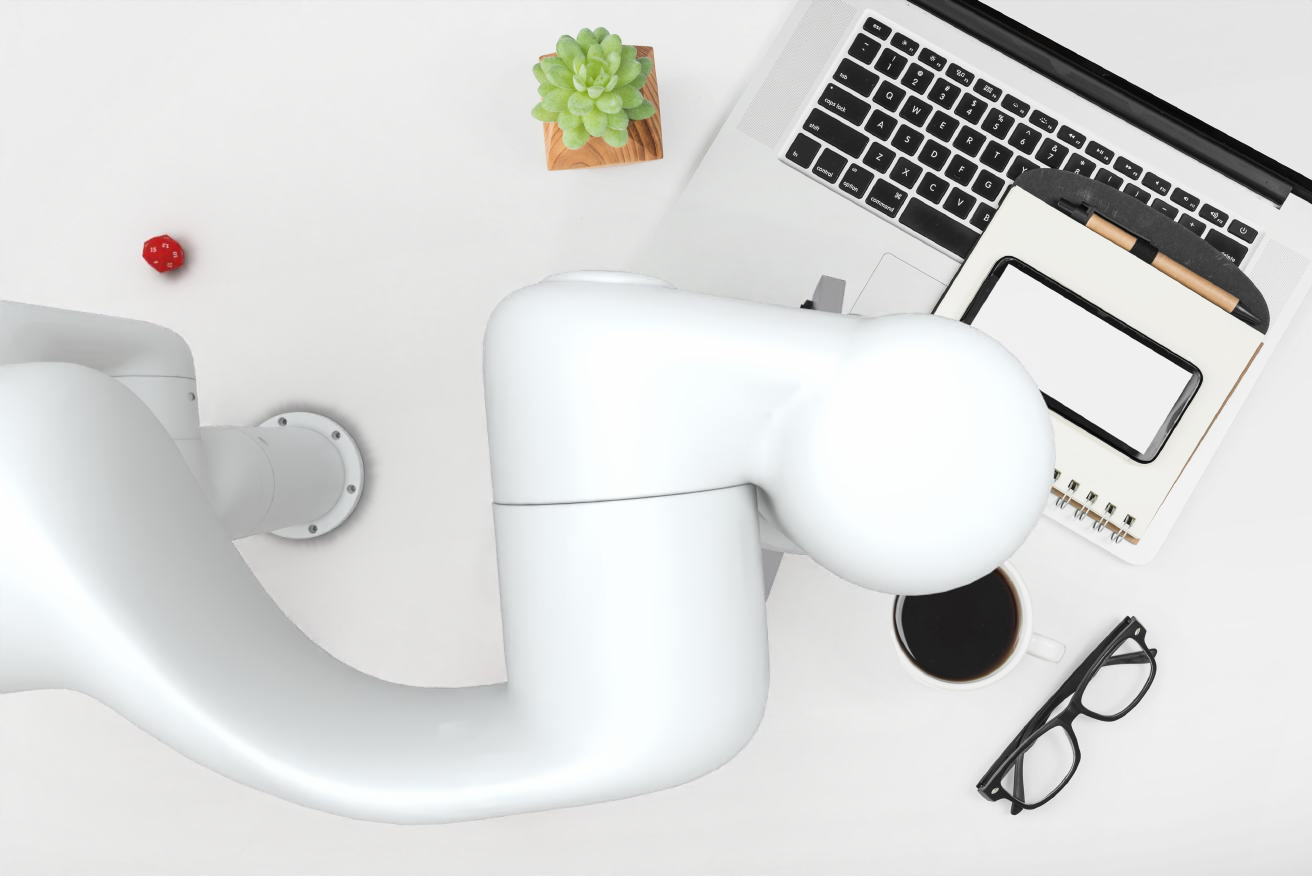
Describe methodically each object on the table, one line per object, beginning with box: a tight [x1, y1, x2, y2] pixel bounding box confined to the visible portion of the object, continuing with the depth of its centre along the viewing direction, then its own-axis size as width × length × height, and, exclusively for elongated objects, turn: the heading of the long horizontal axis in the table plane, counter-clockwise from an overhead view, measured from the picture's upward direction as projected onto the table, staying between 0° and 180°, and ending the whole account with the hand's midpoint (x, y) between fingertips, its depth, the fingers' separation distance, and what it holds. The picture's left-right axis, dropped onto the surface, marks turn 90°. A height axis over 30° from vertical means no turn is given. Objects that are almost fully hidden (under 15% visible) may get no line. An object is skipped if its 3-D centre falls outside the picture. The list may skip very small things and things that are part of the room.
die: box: [141, 234, 185, 274], centre depth 81 cm, size 4×4×4 cm
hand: (770, 443), depth 50 cm, fingers open, 9 cm apart
